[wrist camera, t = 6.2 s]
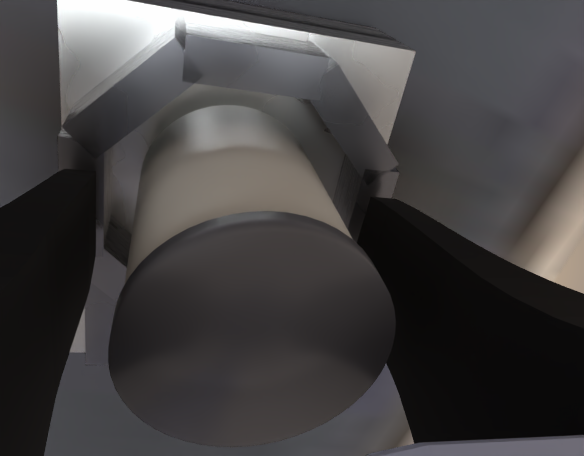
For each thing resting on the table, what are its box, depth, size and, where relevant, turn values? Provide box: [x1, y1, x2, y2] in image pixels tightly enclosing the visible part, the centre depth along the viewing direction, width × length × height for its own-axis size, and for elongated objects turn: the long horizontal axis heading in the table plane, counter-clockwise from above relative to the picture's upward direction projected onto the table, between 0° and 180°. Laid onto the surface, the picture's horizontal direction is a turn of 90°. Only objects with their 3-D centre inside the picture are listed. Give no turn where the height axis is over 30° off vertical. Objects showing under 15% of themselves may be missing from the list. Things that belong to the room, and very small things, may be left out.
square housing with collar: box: [57, 0, 416, 365], centre depth 14 cm, size 10×8×4 cm
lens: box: [108, 105, 396, 447], centre depth 11 cm, size 5×5×6 cm
